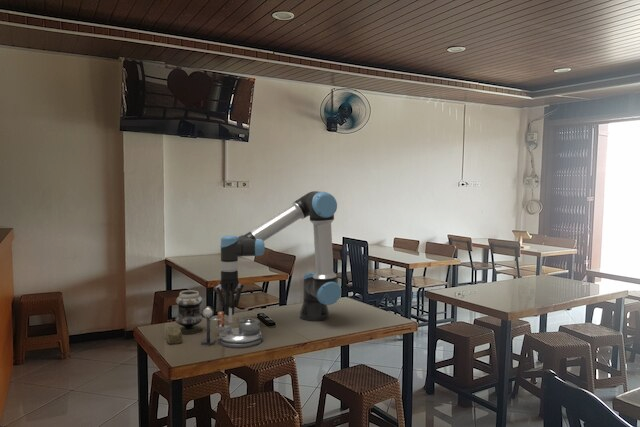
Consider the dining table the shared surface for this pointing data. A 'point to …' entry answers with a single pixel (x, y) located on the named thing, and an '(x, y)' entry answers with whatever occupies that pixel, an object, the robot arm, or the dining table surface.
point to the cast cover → (249, 327)
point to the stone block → (173, 335)
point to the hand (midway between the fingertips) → (229, 322)
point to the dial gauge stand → (208, 325)
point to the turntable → (233, 332)
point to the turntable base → (239, 345)
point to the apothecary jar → (189, 311)
